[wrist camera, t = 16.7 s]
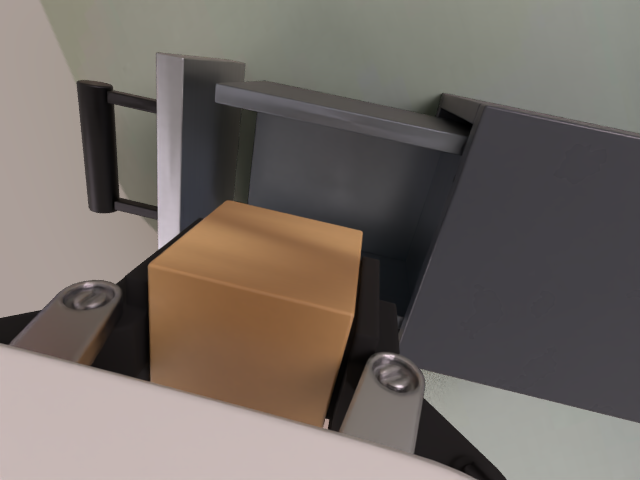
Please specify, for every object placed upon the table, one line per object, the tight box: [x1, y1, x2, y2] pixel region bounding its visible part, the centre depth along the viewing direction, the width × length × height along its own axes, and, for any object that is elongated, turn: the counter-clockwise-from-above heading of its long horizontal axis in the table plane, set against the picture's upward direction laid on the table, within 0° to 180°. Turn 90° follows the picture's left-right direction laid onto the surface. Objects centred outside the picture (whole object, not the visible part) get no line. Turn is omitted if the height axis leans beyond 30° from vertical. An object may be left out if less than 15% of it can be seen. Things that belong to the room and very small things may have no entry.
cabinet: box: [398, 93, 640, 423], centre depth 20 cm, size 16×13×10 cm
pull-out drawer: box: [77, 52, 472, 329], centre depth 21 cm, size 20×11×8 cm, turn 79°
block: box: [148, 200, 363, 428], centre depth 10 cm, size 4×4×4 cm
